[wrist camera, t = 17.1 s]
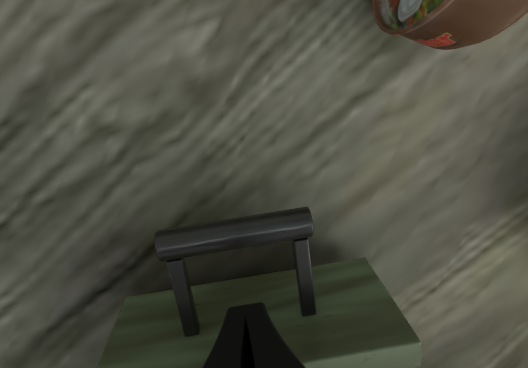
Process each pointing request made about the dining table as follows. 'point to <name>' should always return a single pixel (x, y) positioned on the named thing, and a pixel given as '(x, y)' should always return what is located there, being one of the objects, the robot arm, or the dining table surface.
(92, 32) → the dining table surface
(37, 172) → the dining table surface
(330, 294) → the drawer
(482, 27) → the tin
